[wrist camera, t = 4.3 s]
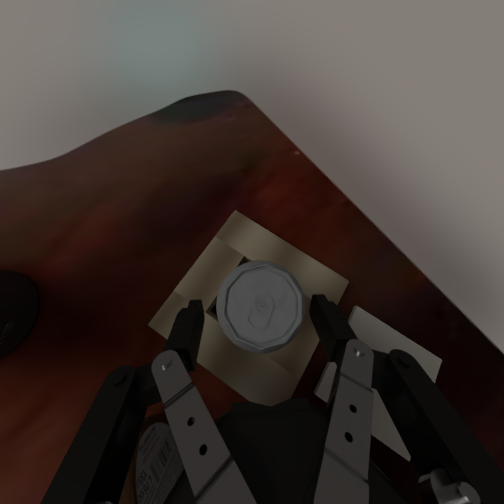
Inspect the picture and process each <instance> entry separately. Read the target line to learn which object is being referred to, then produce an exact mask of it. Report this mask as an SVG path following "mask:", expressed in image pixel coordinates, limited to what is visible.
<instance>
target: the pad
mask: <svg viewBox="0 0 504 504" xmlns="http://www.w3.org/2000/svg"><path fill="white" fill-rule="evenodd" d="M347 321H348V323H349V325H350V326H351V328H352V330H353V331H354V333H355V334H356V336H357V338H358V339H359V340H360V341H363V342H364V343H366V344H367V345H368V346H369V347H370V348H371V349H373V350H376V351H380V352H385V353H389V352H390V351H391V350H393V349H400V350H403V351H405V352H407V353H409V354H410V355H412V356H413V357H414V358H415V359H416V360H417V361H418V363H419V364H420V365H421V367H422V368H423V369H424V370H425V372H426V373H427V374H428V376H429V377H430V378H431V380H432V381H433V382H434V383H435V380H436V377H437V374H438V371H439V368H440V365H441V362H442V360H441V359H440V358H438V357H437V356H435V355H434V354H432V353H430V352H429V351H427V350H426V349H424V348H422V347H421V346H419V345H418V344H416V343H415V342H413V341H411V340H410V339H408V338H407V337H405V336H404V335H402V334H400V333H399V332H397V331H396V330H394V329H393V328H391V327H389V326H388V325H386V324H385V323H383V322H382V321H380V320H378V319H377V318H375V317H374V316H372V315H371V314H369V313H367V312H366V311H364V310H363V309H361V308H360V307H358V306H354V308H353V310H352V312H351V314H350V316H349V318H348V320H347ZM336 368H337V366H336V363H335V362H327V364H326V366H325V369H324V371H323V373H322V375H321V377H320V379H319V381H318V383H317V385H316V387H315V390H314V394H315V395H317V396H318V397H319V398H321V399H322V400H324V401H325V402H326V403H327V402H328V398H329V395H330V391H331V387H332V383H333V379H334V375H335V371H336ZM371 390H372V391H373V393H374V401H373V414H372V427H371V435H373V436H374V437H376V438H377V439H378V440H380V441H381V442H383V443H384V444H385V445H387V446H388V447H390V448H391V449H392V450H394V451H395V452H397V453H398V454H399V455H401V456H402V457H404V458H405V459H406V460H408V461H410V458H411V456H410V454H409V452H408V451H407V449H406V447H405V445H404V443H403V441H402V439H401V437H400V435H399V433H398V431H397V429H396V427H395V425H394V423H393V421H392V419H391V417H390V415H389V413H388V411H387V409H386V407H385V405H384V403H383V401H382V400H381V398H380V396H379V394H378V392H377V390H376V389H373V388H371Z"/></svg>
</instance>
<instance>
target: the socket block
mask: <svg viewBox="0 0 504 504" xmlns="http://www.w3.org/2000/svg"><path fill="white" fill-rule="evenodd" d="M256 260H261V261H270V262H273V263H277V264H279V265H281V266H282V267H284V268H286V269H287V270H288V271H289V272H290V273H291V274H293V276H294V277H295V278H296V280H297V281H298V283H299V284H300V286H301V289H302V291H303V294H304V298H305V315H304V321H303V324H302V326H301V328H300V330H299V332H298V334H297V335H296V336H295V338H294V339H293V340H292V341H291V342H290V343H289V344H287V345H286V346H284V347H283V348H281V349H279V350H276V351H273V352H270V353H253V352H249V351H246V350H243V349H242V348H240V347H238V346H237V345H235V344H234V343H233V342H232V341H231V340H230V339H229V338H228V337H227V336H226V335H225V333H224V332H223V330H222V328H221V326H220V324H219V321H218V317H217V315H216V314H215V313H214V312H212V311H211V310H212V308H213V307H214V305H215V304H216V302H217V295H218V292H219V289H220V286H221V285H222V283H223V281H224V280H225V278H226V277H227V276H228V275H229V274H230V272H231V271H233V270H234V269H235V268H237V267H238V266H240V265H242V264H243V263H244V262H246V263H248V262H251V261H256ZM348 283H349V281H348V280H347V279H345V278H343V277H342V276H340V275H339V274H337V273H335V272H334V271H332V270H331V269H329V268H327V267H326V266H324V265H323V264H321V263H319V262H318V261H316V260H315V259H313V258H311V257H310V256H308V255H306V254H305V253H303V252H302V251H300V250H298V249H297V248H295V247H294V246H292V245H290V244H289V243H287V242H286V241H284V240H282V239H281V238H279V237H278V236H276V235H274V234H273V233H271V232H270V231H268V230H266V229H265V228H263V227H261V226H260V225H258V224H257V223H255V222H253V221H252V220H250V219H249V218H247V217H245V216H244V215H242V214H241V213H239V212H237V211H236V210H235V211H234V212H233V213H232V215H231V216H230V217H229V219H228V220H227V221H226V223H225V224H224V225H223V227H222V228H221V229H220V230H219V232H218V233H217V234H216V236H215V237H214V238H213V240H212V241H211V242H210V244H209V245H208V246H207V248H206V249H205V250H204V252H203V253H202V254H201V255H200V257H199V258H198V259H197V261H196V262H195V263H194V265H193V266H192V267H191V269H190V270H189V271H188V273H187V274H186V275H185V277H184V278H183V279H182V280H181V282H180V283H179V284H178V286H177V287H176V288H175V290H174V291H173V292H172V294H171V295H170V296H169V298H168V299H167V300H166V302H165V303H164V304H163V305H162V307H161V308H160V309H159V311H158V312H157V313H156V315H155V316H154V317H153V319H152V320H151V321H150V323H149V324H148V325H149V326H150V327H151V328H153V329H154V330H155V331H157V332H158V333H159V334H161V335H162V336H163V337H165V338H166V339H168V337H169V334H170V331H171V329H172V326H173V323H174V321H175V318H176V315H177V313H178V312H179V311H180V310H181V309H182V308H187V307H188V304H189V301H190V300H197V299H201V300H202V304H203V309H204V314H205V321H204V327H203V332H202V337H201V342H200V347H199V352H198V357H197V362H198V363H199V364H200V365H202V366H203V367H204V368H206V369H207V370H208V371H210V372H211V373H212V374H214V375H215V376H216V377H218V378H219V379H220V380H222V381H223V382H224V383H226V384H227V385H228V386H230V387H231V388H232V389H234V390H235V391H236V392H238V393H239V394H240V395H242V396H243V397H244V398H246V399H247V400H248V401H250V402H254V403H258V404H262V405H266V406H274V405H276V404H278V403H281V402H283V401H285V400H288V399H290V398H291V396H292V394H293V392H294V390H295V388H296V386H297V384H298V382H299V380H300V378H301V376H302V374H303V373H304V371H305V369H306V367H307V365H308V363H309V361H310V359H311V357H312V355H313V353H314V351H315V349H316V347H317V345H318V343H319V341H320V340H319V337H318V335H317V332H316V330H315V328H314V325H313V323H312V320H311V318H310V314H309V308H310V303H311V299H312V295H313V294H324V295H325V296H326V298H327V300H328V301H333V302H334V303H335V304H336V305H338V303H339V301H340V299H341V297H342V295H343V293H344V291H345V289H346V287H347V285H348Z"/></svg>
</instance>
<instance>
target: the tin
mask: <svg viewBox="0 0 504 504" xmlns="http://www.w3.org/2000/svg"><path fill="white" fill-rule="evenodd" d="M184 469H185V468H184V465H183V462H182V459H181V456H180V453H179V450H178V448H177V445H176V442H175V439H174V436H173V433H172V430H171V428H170V425H169V422H168V419H167V418H166V417H164V416H162V415H151V416H148V417H146V418H145V419H144V421H143V424H142V428H141V431H140V434H139V437H138V441H137V444H136V447H135V451H134V454H133V457H132V461H131V464H130V467H129V470H128V474H127V477H126V480H125V484H124V487H123V490H122V494H121V497H120V500H119V503H118V504H163V503H164V501H165V499H166V498H167V496H168V494H169V493H170V491H171V490H172V488H173V486H174V485H175V483H176V482H177V480H178V478H179V477H180V475H181V474H182V472H183V470H184Z"/></svg>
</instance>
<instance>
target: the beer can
mask: <svg viewBox="0 0 504 504" xmlns="http://www.w3.org/2000/svg"><path fill="white" fill-rule="evenodd" d="M216 312H217V317H218V321H219V324H220V326H221V328H222V330H223V332H224V333H225V335H226V336H227V337H228V338H229V339H230V340H231V341H232V342H233V343H234V344H235V345H237V346H238V347H240V348H242V349H243V350H246V351H249V352H253V353H270V352H273V351H276V350H279V349H281V348H283V347H284V346H286V345H287V344H289V343H290V342H291V341H292V340H293V339H294V338H295V336H296V335H297V334H298V332H299V330H300V328H301V326H302V324H303V321H304V315H305V298H304V294H303V291H302V289H301V286H300V284H299V283H298V281H297V280H296V278H295V277H294V276H293V274H291V273H290V272H289V271H288V270H287V269H286V268H284V267H282V266H281V265H279V264H277V263H273V262H270V261H261V260H256V261H251V262H248V263H244V264H242V265H240V266H238V267H237V268H235V269H234V270H233V271H231V272H230V274H229V275H228V276H227V277H226V278H225V280H224V281H223V283H222V285H221V286H220V289H219V292H218V295H217V303H216Z"/></svg>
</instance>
